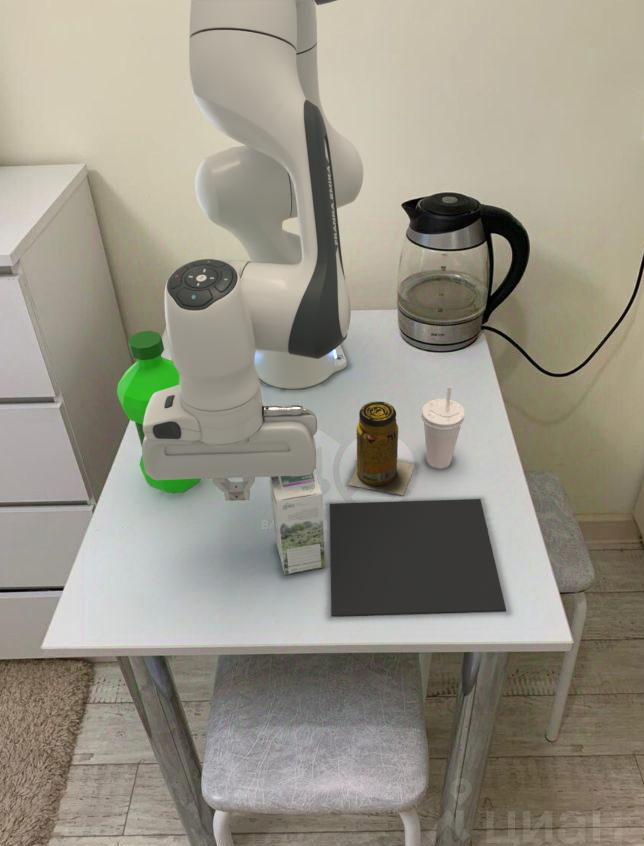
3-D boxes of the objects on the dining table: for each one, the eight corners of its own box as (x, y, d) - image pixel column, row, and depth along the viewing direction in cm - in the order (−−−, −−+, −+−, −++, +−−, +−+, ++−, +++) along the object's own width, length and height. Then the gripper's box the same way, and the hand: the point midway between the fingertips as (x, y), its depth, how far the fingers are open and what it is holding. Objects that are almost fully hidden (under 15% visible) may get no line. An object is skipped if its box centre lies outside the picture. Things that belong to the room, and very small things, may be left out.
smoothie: (457, 476, 110) (466, 402, 100) (415, 471, 111) (420, 397, 101) (461, 449, 114) (470, 376, 105) (420, 445, 115) (425, 371, 106)
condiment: (362, 455, 114) (362, 393, 106) (414, 465, 112) (418, 402, 104) (348, 485, 109) (346, 423, 101) (403, 497, 107) (406, 433, 99)
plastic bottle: (187, 513, 105) (153, 369, 88) (130, 491, 109) (86, 349, 92) (225, 471, 112) (201, 329, 95) (170, 452, 115) (136, 312, 98)
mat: (329, 504, 106) (329, 503, 106) (480, 500, 106) (480, 498, 106) (331, 616, 91) (331, 615, 91) (505, 611, 91) (506, 609, 91)
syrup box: (317, 537, 101) (312, 459, 91) (326, 569, 97) (322, 491, 87) (276, 545, 100) (267, 467, 90) (284, 578, 96) (275, 499, 86)
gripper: (316, 389, 83) (321, 477, 93) (138, 394, 83) (161, 482, 93) (315, 423, 79) (321, 512, 88) (127, 428, 79) (153, 517, 88)
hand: (238, 497), depth 90 cm, fingers closed
